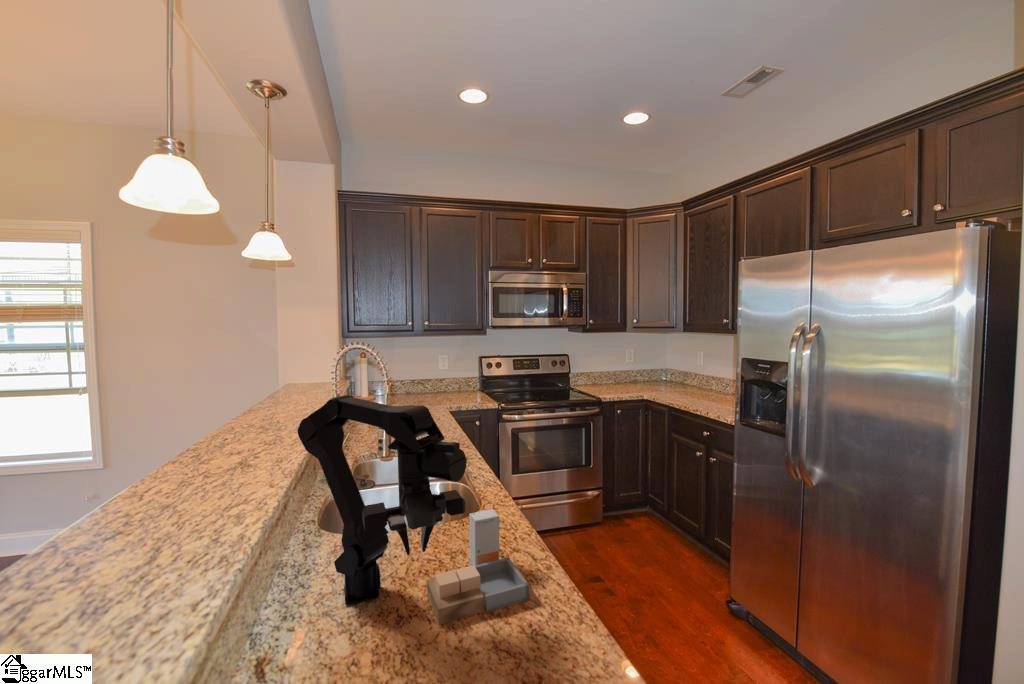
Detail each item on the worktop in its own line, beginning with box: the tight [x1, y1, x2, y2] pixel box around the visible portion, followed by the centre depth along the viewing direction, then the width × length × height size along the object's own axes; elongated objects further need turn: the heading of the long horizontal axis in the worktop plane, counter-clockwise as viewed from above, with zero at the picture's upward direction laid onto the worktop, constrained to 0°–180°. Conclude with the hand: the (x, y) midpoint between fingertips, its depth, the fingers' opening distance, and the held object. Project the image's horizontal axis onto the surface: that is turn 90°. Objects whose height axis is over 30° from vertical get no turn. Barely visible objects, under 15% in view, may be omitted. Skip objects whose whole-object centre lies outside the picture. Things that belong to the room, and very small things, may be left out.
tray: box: [475, 557, 530, 613], centre depth 90 cm, size 9×11×3 cm
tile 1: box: [434, 569, 460, 598], centre depth 86 cm, size 4×4×2 cm
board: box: [426, 577, 485, 626], centre depth 87 cm, size 9×10×3 cm
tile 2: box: [454, 565, 480, 593], centre depth 88 cm, size 4×4×2 cm
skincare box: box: [468, 508, 500, 566], centre depth 99 cm, size 6×4×12 cm
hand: (415, 552), depth 83 cm, fingers open, 3 cm apart
